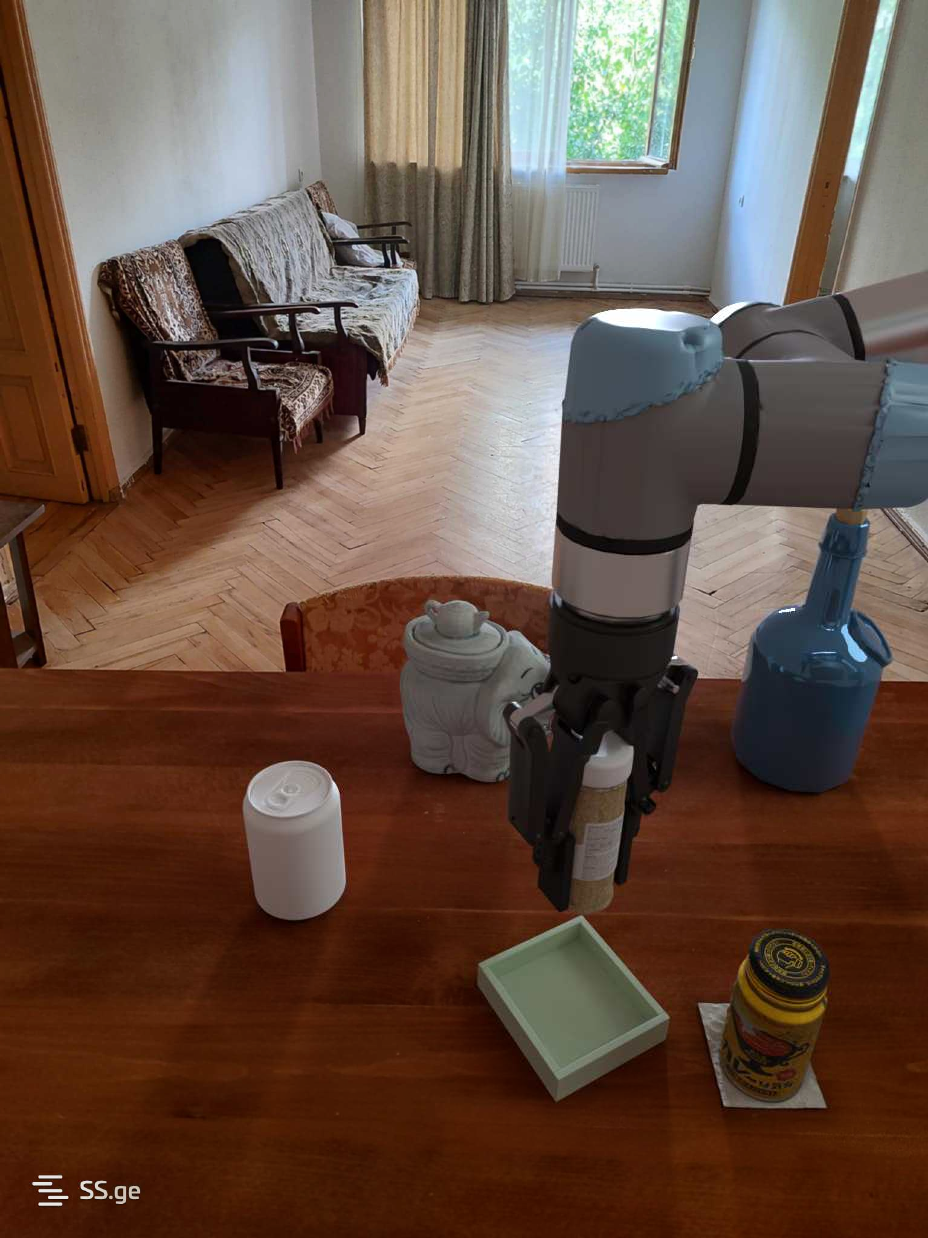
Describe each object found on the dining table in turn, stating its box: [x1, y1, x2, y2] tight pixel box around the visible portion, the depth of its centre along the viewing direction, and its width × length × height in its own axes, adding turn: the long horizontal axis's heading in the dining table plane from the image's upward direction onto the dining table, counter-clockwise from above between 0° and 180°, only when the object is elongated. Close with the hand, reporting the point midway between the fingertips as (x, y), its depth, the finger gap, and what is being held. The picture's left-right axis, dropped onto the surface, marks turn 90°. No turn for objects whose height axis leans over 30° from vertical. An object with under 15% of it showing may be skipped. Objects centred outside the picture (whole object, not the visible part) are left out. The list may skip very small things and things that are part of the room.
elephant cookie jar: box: [399, 599, 550, 783], centre depth 92 cm, size 16×15×19 cm
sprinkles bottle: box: [566, 730, 634, 915], centre depth 60 cm, size 5×5×13 cm
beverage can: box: [242, 760, 347, 921], centre depth 77 cm, size 8×8×12 cm
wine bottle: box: [729, 509, 894, 793], centre depth 90 cm, size 14×13×30 cm
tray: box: [476, 914, 671, 1103], centre depth 69 cm, size 11×10×3 cm
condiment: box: [697, 928, 831, 1109], centre depth 64 cm, size 7×8×12 cm
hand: (582, 884), depth 63 cm, fingers closed on sprinkles bottle, 4 cm apart
